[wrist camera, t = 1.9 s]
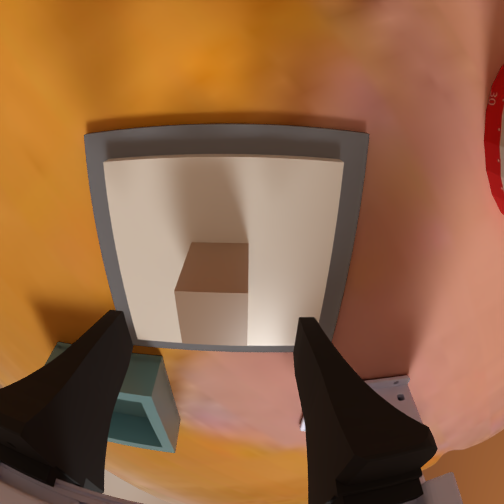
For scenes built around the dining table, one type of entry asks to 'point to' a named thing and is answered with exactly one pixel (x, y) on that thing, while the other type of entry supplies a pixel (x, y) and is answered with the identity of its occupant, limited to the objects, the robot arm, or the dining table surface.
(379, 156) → the dining table surface
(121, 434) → the teal square tray
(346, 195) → the mat
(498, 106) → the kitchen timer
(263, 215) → the lid
